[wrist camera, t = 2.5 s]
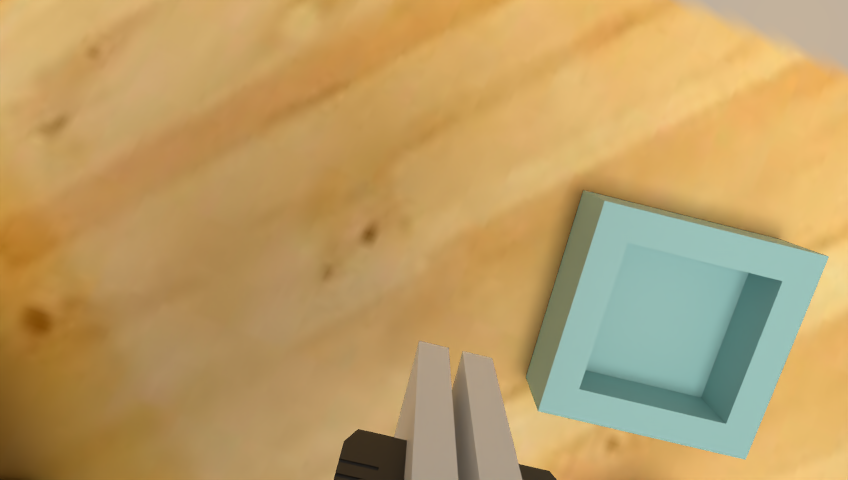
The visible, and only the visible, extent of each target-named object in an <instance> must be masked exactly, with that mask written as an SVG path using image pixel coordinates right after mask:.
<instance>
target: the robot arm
mask: <svg viewBox="0 0 848 480" xmlns="http://www.w3.org/2000/svg"><path fill="white" fill-rule="evenodd" d="M334 480H556V478H555V477H554V476H553V475H552V474H551V472H550V471H546V470H542V469H538V468H533V467H529V466H525V465H520V464H518V460H517V456H516V452H515V448H514V444H513V440H512V436H511V432H510V428H509V424H508V420H507V416H506V412H505V408H504V404H503V400H502V396H501V392H500V388H499V384H498V380H497V376H496V372H495V368H494V363H493V359H492V358H490V357H485V356H481V355H477V354H473V353H468V352H464V351H463V352H462V356H461V359H460V363H459V366H458V370H457V374H456V377H455V381H454V384H453V388H452V386H451V373H450V359H449V348H447V347H443V346H439V345H435V344H430V343H426V342H422V341H419V343H418V347H417V351H416V355H415V359H414V362H413V366H412V370H411V374H410V378H409V381H408V385H407V389H406V393H405V397H404V401H403V404H402V408H401V412H400V416H399V420H398V424H397V427H396V431H395V435H394V437H390V436H386V435H381V434H377V433H373V432H368V431H364V430H360V429H358V430H357V431H356V432H354V433H353V434H352V435H351V436H350V437H349V438H347V439H346V440H345V441H344V444H343V447H342V451H341V455H340V459H339V462H338V466H337V470H336V474H335V477H334Z"/></svg>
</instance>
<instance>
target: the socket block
mask: <svg viewBox="0 0 848 480" xmlns="http://www.w3.org/2000/svg"><path fill="white" fill-rule="evenodd" d="M827 260H828V256H825V255H823V254H820V253H817V252H814V251H811V250H809V249H806V248H803V247H800V246H797V245H795V244H792V243H789V242H786V241H784V240H781V239H777V238H773V237H769V236H765V235H761V234H757V233H753V232H749V231H745V230H741V229H737V228H733V227H729V226H725V225H721V224H717V223H713V222H709V221H705V220H701V219H697V218H693V217H689V216H685V215H681V214H677V213H673V212H669V211H665V210H661V209H657V208H653V207H649V206H645V205H641V204H637V203H633V202H629V201H625V200H621V199H617V198H613V197H609V196H605V195H601V194H597V193H593V192H589V191H585V190H583V193H582V196H581V200H580V203H579V206H578V209H577V213H576V216H575V219H574V222H573V226H572V229H571V232H570V235H569V239H568V242H567V245H566V248H565V252H564V255H563V258H562V261H561V265H560V268H559V271H558V274H557V278H556V281H555V284H554V287H553V291H552V294H551V297H550V300H549V304H548V307H547V310H546V313H545V317H544V320H543V323H542V326H541V330H540V333H539V336H538V339H537V343H536V346H535V349H534V352H533V356H532V359H531V362H530V365H529V369H528V372H527V375H526V379H527V382H528V384H529V387H530V390H531V393H532V396H533V398H534V401H535V404H536V407H537V409H538V411H540V412H544V413H549V414H553V415H557V416H561V417H566V418H570V419H574V420H578V421H583V422H587V423H591V424H596V425H600V426H604V427H608V428H613V429H617V430H621V431H625V432H630V433H634V434H638V435H643V436H647V437H651V438H655V439H660V440H664V441H668V442H672V443H677V444H681V445H685V446H690V447H694V448H698V449H702V450H707V451H711V452H715V453H719V454H724V455H728V456H732V457H737V458H741V459H745V460H746V457H747V455H748V452H749V450H750V447H751V445H752V443H753V440H754V438H755V435H756V433H757V430H758V428H759V425H760V423H761V421H762V418H763V416H764V413H765V411H766V408H767V406H768V404H769V401H770V399H771V396H772V394H773V391H774V389H775V386H776V384H777V382H778V379H779V377H780V374H781V372H782V369H783V367H784V365H785V362H786V360H787V357H788V355H789V352H790V350H791V347H792V345H793V343H794V340H795V338H796V335H797V333H798V330H799V328H800V326H801V323H802V321H803V318H804V316H805V313H806V311H807V308H808V306H809V304H810V301H811V299H812V296H813V294H814V291H815V289H816V287H817V284H818V282H819V279H820V277H821V274H822V272H823V269H824V267H825V265H826V262H827Z"/></svg>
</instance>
